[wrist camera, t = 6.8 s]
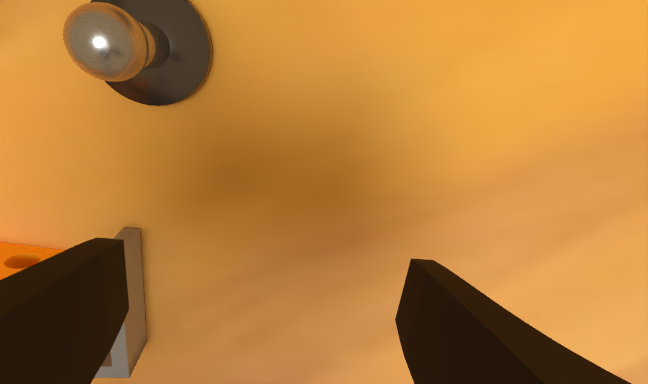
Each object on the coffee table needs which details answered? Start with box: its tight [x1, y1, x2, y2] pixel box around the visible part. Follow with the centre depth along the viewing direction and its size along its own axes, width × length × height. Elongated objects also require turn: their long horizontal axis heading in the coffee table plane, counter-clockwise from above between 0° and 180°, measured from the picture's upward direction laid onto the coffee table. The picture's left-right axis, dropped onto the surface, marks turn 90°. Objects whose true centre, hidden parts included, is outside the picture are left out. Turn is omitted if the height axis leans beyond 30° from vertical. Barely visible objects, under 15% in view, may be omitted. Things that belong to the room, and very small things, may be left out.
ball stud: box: [63, 0, 213, 106], centre depth 13 cm, size 5×5×6 cm
